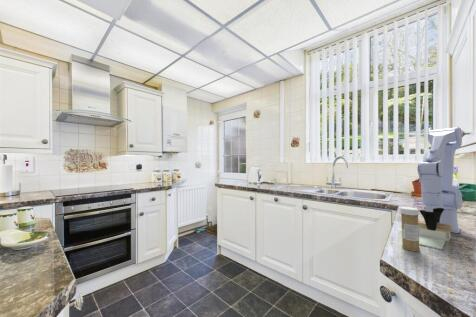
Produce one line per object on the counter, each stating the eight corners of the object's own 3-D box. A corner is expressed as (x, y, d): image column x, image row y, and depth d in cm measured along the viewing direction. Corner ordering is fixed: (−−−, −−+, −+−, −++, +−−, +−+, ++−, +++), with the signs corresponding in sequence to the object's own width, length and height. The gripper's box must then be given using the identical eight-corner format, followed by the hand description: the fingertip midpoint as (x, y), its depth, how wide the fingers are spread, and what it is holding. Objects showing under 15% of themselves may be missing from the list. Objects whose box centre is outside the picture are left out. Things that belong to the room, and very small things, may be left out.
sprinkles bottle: (403, 245, 68) (402, 206, 69) (421, 249, 65) (419, 208, 65) (400, 248, 65) (398, 207, 66) (419, 253, 62) (416, 210, 62)
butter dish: (419, 232, 81) (419, 224, 81) (450, 237, 74) (450, 229, 74) (417, 234, 78) (416, 227, 78) (449, 241, 71) (448, 232, 71)
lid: (418, 224, 81) (417, 216, 81) (451, 229, 74) (451, 221, 74) (415, 227, 78) (415, 218, 78) (450, 233, 71) (449, 224, 71)
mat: (419, 236, 76) (419, 235, 76) (445, 241, 71) (445, 240, 71) (413, 243, 69) (413, 242, 69) (441, 249, 64) (441, 248, 64)
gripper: (421, 190, 84) (422, 222, 83) (413, 193, 75) (415, 229, 74) (444, 191, 79) (446, 225, 78) (440, 195, 69) (442, 234, 69)
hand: (433, 227), depth 76 cm, fingers open, 7 cm apart
